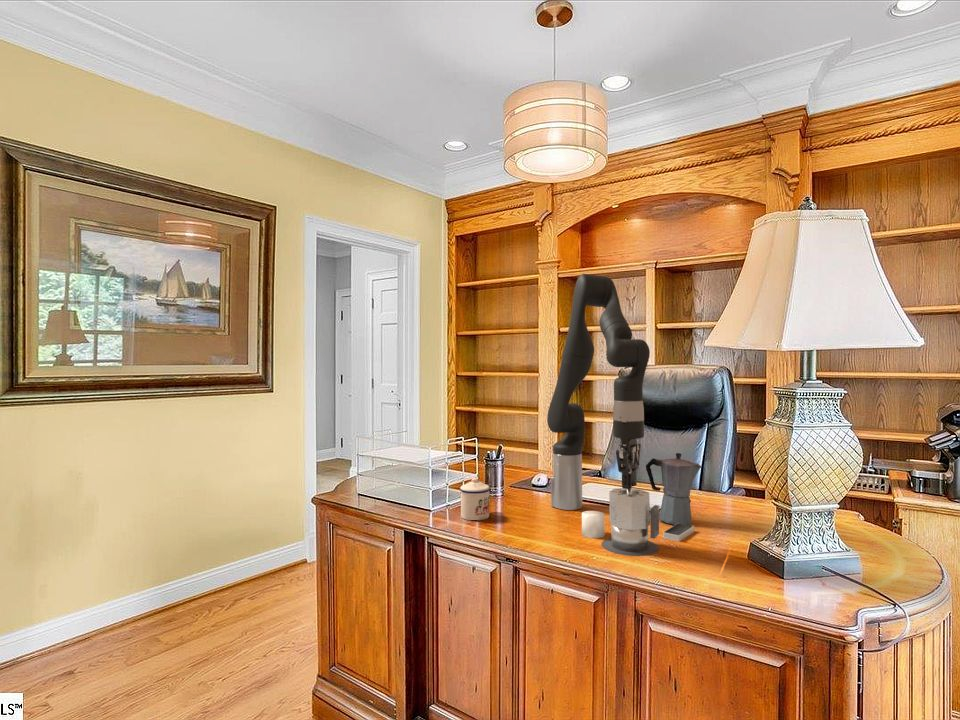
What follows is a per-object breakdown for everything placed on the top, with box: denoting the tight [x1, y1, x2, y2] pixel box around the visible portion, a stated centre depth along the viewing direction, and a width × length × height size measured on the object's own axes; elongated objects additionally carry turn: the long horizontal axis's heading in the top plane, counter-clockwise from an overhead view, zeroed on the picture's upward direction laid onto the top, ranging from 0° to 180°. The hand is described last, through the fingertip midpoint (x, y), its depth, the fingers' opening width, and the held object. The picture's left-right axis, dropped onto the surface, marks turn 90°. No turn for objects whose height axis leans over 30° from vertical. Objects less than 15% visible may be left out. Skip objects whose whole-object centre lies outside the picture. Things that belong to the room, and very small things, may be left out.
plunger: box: [624, 464, 640, 495], centre depth 136 cm, size 5×5×14 cm
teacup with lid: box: [459, 477, 491, 521], centre depth 165 cm, size 12×9×12 cm
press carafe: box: [608, 487, 660, 552], centre depth 135 cm, size 11×9×14 cm
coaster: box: [600, 537, 660, 557], centre depth 136 cm, size 14×14×1 cm
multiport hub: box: [662, 523, 695, 542], centre depth 144 cm, size 4×11×2 cm, turn 139°
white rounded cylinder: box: [581, 510, 606, 539], centre depth 145 cm, size 6×6×6 cm
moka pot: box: [645, 452, 703, 526], centre depth 157 cm, size 10×15×20 cm, turn 78°
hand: (629, 486), depth 136 cm, fingers closed on plunger, 3 cm apart
